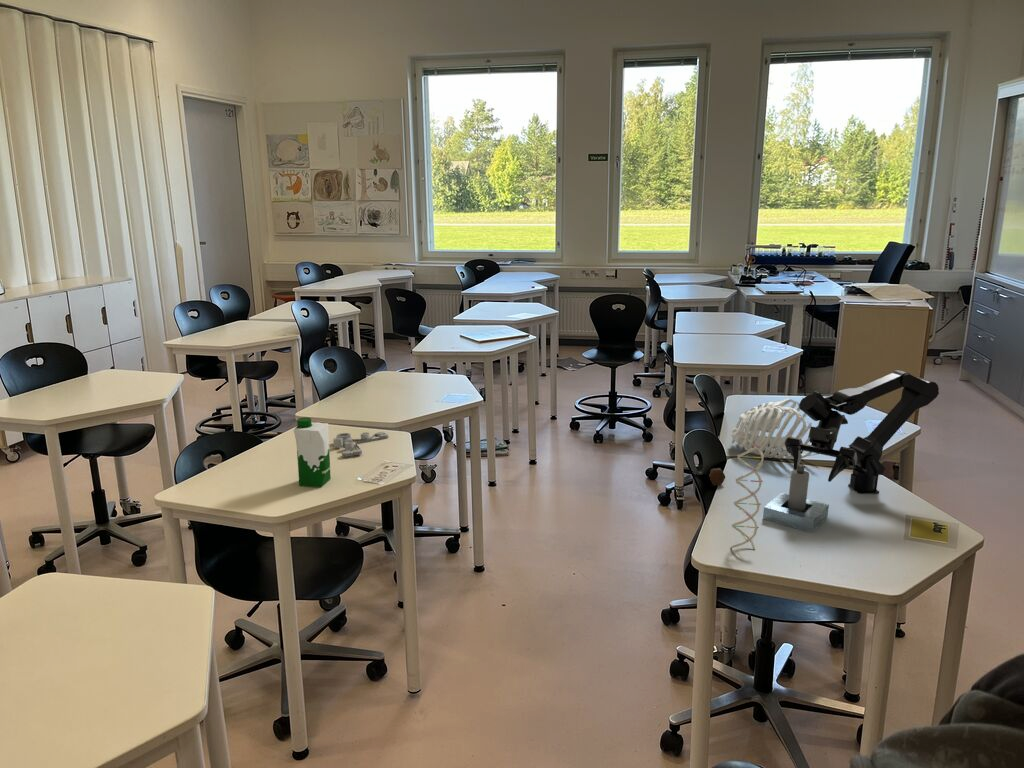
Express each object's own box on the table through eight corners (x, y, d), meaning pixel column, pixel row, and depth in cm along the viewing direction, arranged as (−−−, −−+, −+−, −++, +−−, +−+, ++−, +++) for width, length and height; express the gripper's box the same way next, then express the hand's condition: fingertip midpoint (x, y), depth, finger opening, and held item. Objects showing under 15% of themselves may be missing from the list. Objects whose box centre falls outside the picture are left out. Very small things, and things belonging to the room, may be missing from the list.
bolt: (698, 473, 235) (718, 489, 221) (686, 466, 234) (705, 482, 219) (707, 458, 235) (728, 473, 220) (695, 451, 233) (715, 466, 219)
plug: (799, 514, 200) (805, 462, 197) (807, 521, 196) (813, 468, 192) (783, 514, 200) (789, 462, 196) (791, 521, 196) (796, 468, 192)
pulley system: (316, 458, 245) (356, 460, 241) (315, 444, 244) (355, 446, 240) (356, 436, 271) (392, 438, 267) (355, 424, 270) (392, 425, 266)
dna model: (730, 553, 178) (740, 436, 170) (727, 541, 184) (737, 428, 176) (758, 556, 176) (769, 438, 169) (755, 544, 183) (765, 430, 175)
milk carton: (307, 476, 226) (303, 414, 221) (335, 478, 225) (331, 416, 220) (294, 487, 218) (290, 423, 213) (323, 489, 216) (319, 424, 212)
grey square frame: (779, 504, 207) (781, 492, 206) (827, 516, 199) (828, 504, 198) (762, 519, 197) (763, 507, 196) (812, 532, 189) (813, 520, 188)
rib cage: (813, 444, 258) (731, 434, 266) (820, 396, 253) (737, 386, 261) (818, 471, 234) (728, 459, 243) (827, 418, 229) (734, 407, 237)
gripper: (789, 409, 208) (772, 456, 202) (859, 421, 196) (843, 471, 191) (796, 429, 216) (780, 474, 210) (864, 441, 204) (848, 490, 199)
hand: (811, 477), depth 202 cm, fingers open, 9 cm apart
